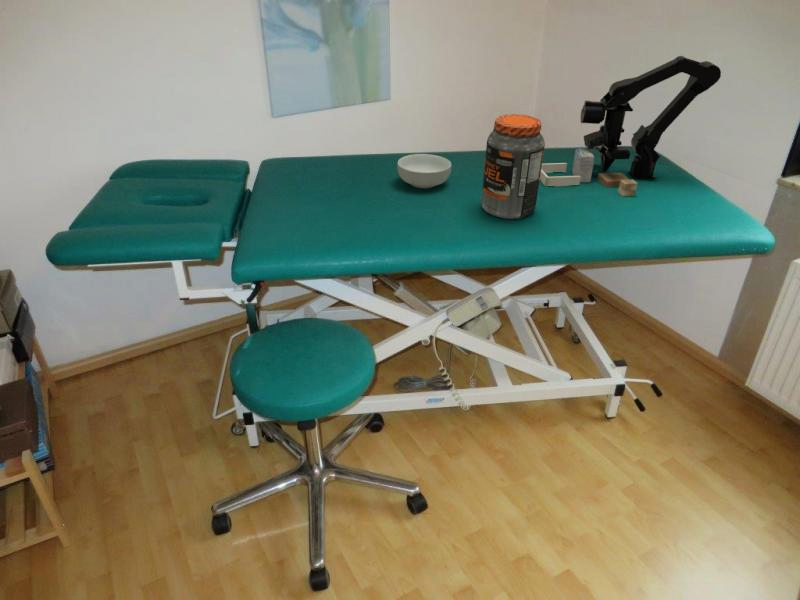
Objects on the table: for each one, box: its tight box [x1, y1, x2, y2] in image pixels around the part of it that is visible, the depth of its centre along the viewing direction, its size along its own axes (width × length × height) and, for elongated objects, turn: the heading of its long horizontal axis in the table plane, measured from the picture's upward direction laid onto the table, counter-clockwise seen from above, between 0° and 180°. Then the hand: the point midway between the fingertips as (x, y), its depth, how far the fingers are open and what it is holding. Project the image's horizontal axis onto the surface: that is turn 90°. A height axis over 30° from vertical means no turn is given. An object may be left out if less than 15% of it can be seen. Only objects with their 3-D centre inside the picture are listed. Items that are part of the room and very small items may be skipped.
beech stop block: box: [617, 179, 638, 197], centre depth 185 cm, size 4×3×4 cm
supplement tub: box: [481, 113, 546, 220], centre depth 168 cm, size 16×16×26 cm
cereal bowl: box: [396, 153, 452, 189], centre depth 189 cm, size 17×17×7 cm
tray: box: [540, 162, 581, 188], centre depth 195 cm, size 11×13×3 cm
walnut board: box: [596, 172, 631, 188], centre depth 193 cm, size 8×7×2 cm
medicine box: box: [571, 148, 595, 183], centre depth 194 cm, size 8×4×9 cm, turn 179°
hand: (603, 171), depth 200 cm, fingers closed
